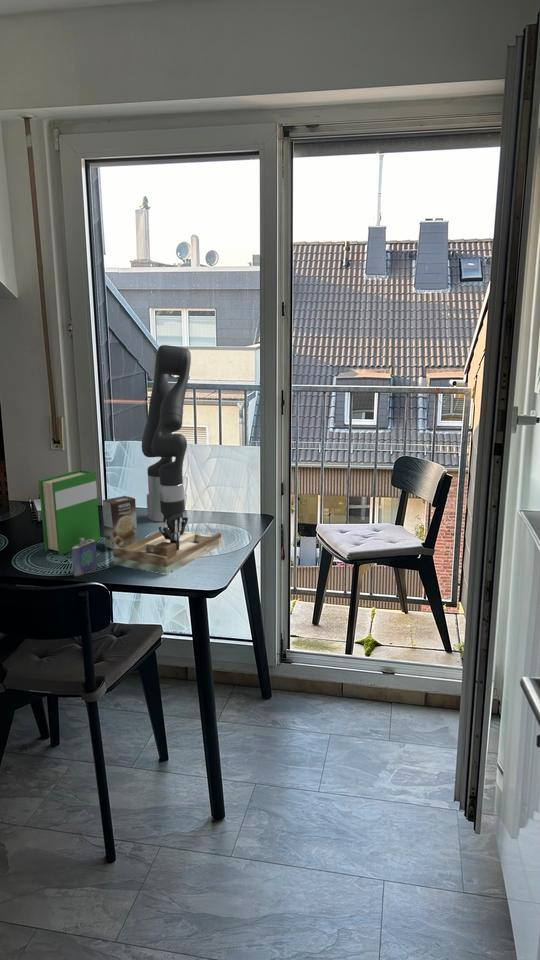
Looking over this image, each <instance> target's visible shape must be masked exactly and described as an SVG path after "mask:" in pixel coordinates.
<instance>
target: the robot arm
mask: <svg viewBox="0 0 540 960" xmlns="http://www.w3.org/2000/svg"><path fill="white" fill-rule="evenodd" d="M156 351H157V352H156V355H155V363H154V373H153V383H152V384H153V385H152V389H151V393H150V398H149V403H148V412H147V419H146V424H145V427H144V430H143V435H142V437H141V451H142V455H144V457H146V458H160V459H159V460H158V461H157V462H155V463H153V464H151V465H149V466H148V467H147V486H148V489H147V490H148V494H147V493H146V510H147V512H146V513H147V519H148V520H150V521H152V522H158V521H162V522H163V524H162V525H161V526H159V527H158V532H159V531H160V532H161V534H162V535H163V536H164V538H165V539H169V540H170V543H175V544H176V551H177V550H179V538H180V536H181V535H183V533H184V531H185V530H186V527H187V524H188V521H189V518H188V517H187V516H184V513H185V512H186V505H185V504H186V503H185V502H186V501H185V488H184V478H183V477H184V476H183V467H184V460H185V455H186V452H187V447H188V440H187V439H186V436H184V435H183V434H182V433H175V432H178V431H181V429H182V428H183V427H182V426H183V421H184V420H183V416H184V403H185V399H186V398H185V397H186V393H187V387H188V383H189V382H188V381H189V375H190V370H191V362H192V360H191V359H192V355H191V350H190V349H189V348H185V347H181V346H175V345H167V344H161V345H160V346H158V348H157V350H156ZM166 375H169V376H177V377H178V379H177V381H176V383H175V384H174V386H173V387H172V386H171V384H170V383H169V382H168V380H167V377H166ZM173 457H174V458H175V459H174V461H173Z"/></svg>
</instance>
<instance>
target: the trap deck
mask: <svg viewBox="0 0 540 960" xmlns="http://www.w3.org/2000/svg"><path fill="white" fill-rule="evenodd" d="M161 542H169V543H170V540H169V539H165V538H164V536H163V535H162V534H161V532H160V531H159V530H158V531H157V532H155V533H152V534H150V535H148V536H146V537H144V538H141V539H140V540H137V542H135V543H133V544H131V545H128V546H126V547H124V548H119V547H114V548H113V549H112V550H113V564H114V565H115V566H121V567H125V568H129V569H135V570H139V569H140V571H144V570H146V571H145V572H149V571H153V572H158V573H165V574H167V573H169V572H171V571H173V570H175V569H177V570H178V568H179V567H180V568H182V567H184V566H186V565H188V564H189V563H191V562H193V561H195V560H196V559H198V558H200V557H202V556H204V555H206V554H207V553H209V552H210V551H212V550H214V549H217V548H218V547H219V546H221V545H222V532H217V533H215V534H213V535H211V534H210V535H209V534H205V533H196V532H192V531H185V530H184V533H183V535H181V536H180V538H179V550H177V551H176V552H177V555H176V556H174V557H172V558H170V559H168V557H166V556H161V555H156V554H154V550H153V546H155V545H157V544H159V543H161ZM149 551H150V553H149ZM185 564H186V565H185ZM183 565H184V566H183ZM181 566H182V567H181ZM180 568H179V569H180ZM175 571H176V570H175ZM153 572H152V573H153ZM173 572H174V571H173ZM158 573H157V574H158ZM171 573H172V572H171Z"/></svg>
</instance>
